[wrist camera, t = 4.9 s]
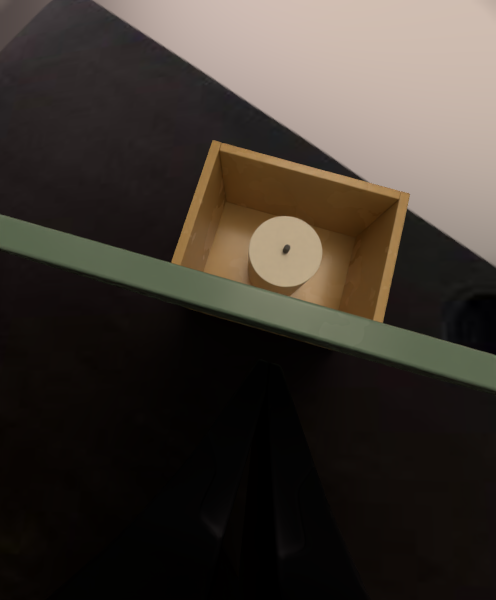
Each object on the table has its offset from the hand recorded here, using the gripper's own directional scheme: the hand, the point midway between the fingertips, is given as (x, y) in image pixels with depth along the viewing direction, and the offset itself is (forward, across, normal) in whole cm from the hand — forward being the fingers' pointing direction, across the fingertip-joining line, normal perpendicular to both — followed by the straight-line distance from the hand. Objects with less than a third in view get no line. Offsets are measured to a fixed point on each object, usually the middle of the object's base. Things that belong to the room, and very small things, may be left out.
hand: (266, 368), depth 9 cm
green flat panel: (+1, 0, -2) cm, 2 cm away
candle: (+14, 0, +4) cm, 14 cm away
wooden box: (+14, 0, +4) cm, 15 cm away
